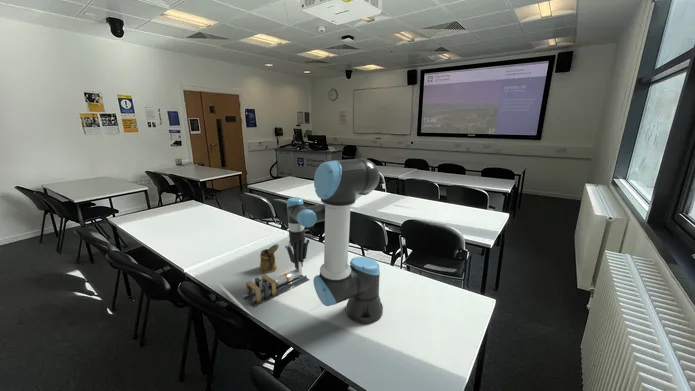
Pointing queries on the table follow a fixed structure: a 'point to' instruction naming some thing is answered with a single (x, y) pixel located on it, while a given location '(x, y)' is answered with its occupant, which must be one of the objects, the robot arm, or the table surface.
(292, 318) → the table surface
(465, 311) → the table surface
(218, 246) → the table surface
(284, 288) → the dark grey base rail
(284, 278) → the tube
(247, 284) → the collar
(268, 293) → the aperture bridge
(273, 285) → the collar
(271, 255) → the wooden mug
